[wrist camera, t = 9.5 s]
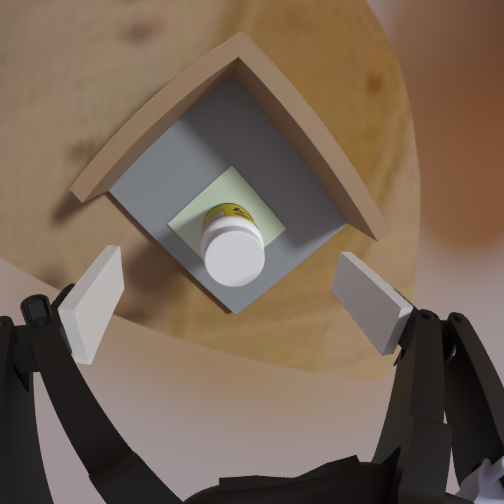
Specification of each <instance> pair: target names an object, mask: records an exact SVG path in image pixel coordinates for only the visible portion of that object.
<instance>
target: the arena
mask: <svg viewBox="0 0 504 504" xmlns="http://www.w3.org/2000/svg"><path fill="white" fill-rule="evenodd" d="M70 190H71V191H72V192H73V193H74V194H75V196H76V197H77V198H78V199H79V200H80V201H81V202H82V203H83V202H86V201H88V200H90V199H92V198H94V197H96V196H98V195H100V194H102V193H105V192H107V191H110V193H111V194H112V195H113V196H114V197H115V198H116V199H117V200H118V201H119V202H120V203H121V204H122V205H123V206H124V207H125V209H126V210H127V211H128V212H129V213H130V214H131V215H132V216H133V217H134V218H135V219H136V220H137V221H138V222H139V223H140V224H141V225H142V226H143V227H144V228H145V229H146V230H147V231H148V232H149V233H150V234H151V235H152V236H153V237H154V238H155V239H156V240H157V241H158V242H159V243H160V244H161V245H162V246H163V247H164V248H165V249H166V250H167V251H168V252H169V253H170V254H171V255H172V256H173V257H174V258H175V259H176V260H177V261H178V262H179V263H180V264H181V265H182V266H183V267H184V268H185V269H186V270H187V271H189V272H190V273H191V274H192V275H193V276H194V277H195V278H196V279H197V280H198V281H199V282H200V283H201V284H202V285H203V286H205V287H206V288H207V289H208V290H209V291H210V292H211V293H212V294H213V295H214V296H215V297H216V298H218V299H219V300H220V301H221V302H222V303H223V304H224V305H225V306H226V307H228V308H229V309H230V310H231V311H232V312H233V313H234V314H235V315H236V314H238V313H239V312H240V311H242V310H243V309H244V308H245V307H247V306H248V305H249V304H250V303H252V302H253V301H254V300H256V299H257V298H258V297H259V296H261V295H262V294H263V293H264V292H266V291H267V290H268V289H269V288H271V287H272V286H273V285H274V284H276V283H277V282H278V281H279V280H280V279H282V278H283V277H284V276H285V275H287V274H288V273H289V272H290V271H292V270H293V269H294V268H295V267H296V266H298V265H299V264H300V263H301V262H302V261H304V260H305V259H306V258H307V257H308V256H310V255H311V254H312V253H313V252H314V251H316V250H317V249H318V248H319V247H320V246H322V245H323V244H324V243H325V242H326V241H327V240H329V239H330V238H331V237H332V236H333V235H334V234H336V233H337V232H338V231H339V230H340V229H341V228H343V227H344V226H345V225H346V224H347V223H348V224H350V225H352V226H353V227H355V228H357V229H358V230H360V231H361V232H363V233H365V234H366V235H368V236H369V237H371V238H373V239H374V240H376V241H377V242H378V241H379V240H380V239H381V238H382V237H383V236H385V235H386V234H387V233H388V232H389V231H390V229H389V227H388V225H387V223H386V221H385V219H384V217H383V216H382V214H381V212H380V210H379V208H378V207H377V205H376V203H375V202H374V200H373V198H372V196H371V195H370V193H369V191H368V190H367V188H366V186H365V185H364V183H363V181H362V180H361V178H360V177H359V175H358V173H357V172H356V170H355V169H354V167H353V166H352V164H351V163H350V161H349V160H348V158H347V157H346V155H345V154H344V152H343V151H342V149H341V148H340V146H339V145H338V143H337V142H336V141H335V139H334V138H333V136H332V135H331V134H330V132H329V131H328V129H327V128H326V127H325V125H324V124H323V123H322V121H321V120H320V119H319V117H318V116H317V115H316V113H315V112H314V111H313V110H312V108H311V107H310V106H309V105H308V103H307V102H306V101H305V100H304V98H303V97H302V96H301V95H300V93H299V92H298V91H297V90H296V89H295V87H294V86H293V85H292V84H291V83H290V82H289V80H288V79H287V78H286V77H285V76H284V75H283V74H282V72H281V71H280V70H279V69H278V68H277V67H276V66H275V65H274V64H273V62H272V61H271V60H270V59H269V58H268V57H267V56H266V55H265V54H264V53H263V52H262V51H261V50H260V49H259V48H258V47H257V46H256V45H255V44H254V43H253V42H252V41H251V40H250V39H249V38H248V37H247V36H246V35H245V34H244V33H243V32H242V31H241V32H239V33H237V34H236V35H234V36H233V37H231V38H229V39H228V40H226V41H225V42H223V43H222V44H220V45H219V46H217V47H216V48H214V49H213V50H211V51H210V52H209V53H207V54H206V55H204V56H203V57H202V58H200V59H199V60H198V61H196V62H195V63H194V64H192V65H191V66H190V67H188V68H187V69H186V70H184V71H183V72H182V73H181V74H179V75H178V76H177V77H176V78H174V79H173V80H172V81H171V82H170V83H168V84H167V85H166V86H165V87H164V88H163V89H161V90H160V91H159V92H158V93H157V94H156V95H155V96H153V97H152V98H151V99H150V100H149V101H148V102H147V103H146V104H145V105H144V106H143V107H141V108H140V109H139V110H138V111H137V112H136V113H135V114H134V115H133V116H132V117H131V118H130V119H129V120H128V121H127V122H126V123H125V124H124V125H123V126H122V127H121V128H120V129H119V130H118V131H117V133H116V134H115V135H114V136H113V137H112V138H111V139H110V140H109V141H108V142H107V143H106V145H105V146H104V147H103V148H102V149H101V150H100V151H99V153H98V154H97V155H96V156H95V157H94V158H93V160H92V161H91V162H90V163H89V164H88V166H87V167H86V168H85V169H84V171H83V172H82V173H81V174H80V176H79V177H78V178H77V180H76V181H75V182H74V183H73V185H72V186H71V187H70ZM227 202H229V203H235V204H238V205H240V206H242V207H243V208H245V209H246V210H247V211H248V212H249V214H250V215H251V217H252V219H253V220H254V222H255V224H256V225H257V227H258V229H259V231H260V232H261V235H262V237H263V241H264V255H265V261H264V266H263V268H262V270H261V272H260V274H259V275H258V276H257V277H256V278H255V279H254V280H253V281H251V282H250V283H248V284H246V285H243V286H238V287H229V286H225V285H222V284H220V283H218V282H216V281H215V280H214V279H213V278H212V277H211V276H210V275H209V274H208V272H207V270H206V267H205V263H204V261H203V259H202V257H201V253H200V240H201V232H202V225H203V220H204V218H205V216H206V214H207V213H208V211H209V210H210V209H211V208H213V207H214V206H216V205H218V204H221V203H227Z"/></svg>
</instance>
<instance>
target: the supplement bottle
mask: <svg viewBox="0 0 504 504" xmlns="http://www.w3.org/2000/svg"><path fill="white" fill-rule="evenodd" d="M200 253H201V257H202V259H203V261H204V263H205V267H206V270H207V272H208V274H209V275H210V276H211V277H212V278H213V279H214V280H215V281H216V282H218V283H220V284H222V285H225V286H229V287H238V286H243V285H246V284H248V283H250V282H251V281H253V280H254V279H255V278H256V277H257V276H258V275H259V274H260V272H261V270H262V268H263V266H264V261H265V255H264V241H263V237H262V235H261V232H260V231H259V229H258V227H257V225H256V224H255V222H254V220H253V219H252V217H251V215H250V214H249V212H248V211H247V210H246V209H245V208H243V207H242V206H240V205H238V204H235V203H229V202H227V203H221V204H218V205H216V206H214V207H213V208H211V209H210V210H209V211H208V213H207V214H206V216H205V218H204V220H203V225H202V232H201V240H200Z"/></svg>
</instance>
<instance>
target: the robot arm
mask: <svg viewBox="0 0 504 504" xmlns="http://www.w3.org/2000/svg"><path fill="white" fill-rule="evenodd" d="M123 290H124V281H123V273H122V264H121V253H120V246H114V245H108V246H107V247H106V248H105V249H104V250H103V252H102V253H101V254H100V255H99V256H98V257H97V259H96V260H95V261H94V262H93V263H92V265H91V266H90V267H89V268H88V270H87V271H86V272H85V273H84V275H83V276H82V277H81V278H80V280H79V281H78V282H77V283H76V284H72V283H71V284H70V285H68V286H67V287H65V288H64V289H63V290H62V291H61V293H60V294H59V295H58V297H57V298H56V300H54V301H53V303H52V304H51V305H50V302H49V299H48V297H47V296H45V295H42V294H37V295H32V296H30V297H27V298H26V299H25V300H23V301H22V303H21V307H20V308H21V311H22V314H23V317H24V320H25V323H26V325H20V326H14V324H13V321H12V319H11V318H10V317H8V316H1V317H0V504H54V503H53V500H52V496H51V493H50V490H49V486H48V482H47V478H46V474H45V471H44V466H43V461H42V456H41V452H40V445H39V439H38V433H37V424H36V416H35V404H34V387H33V372H40V373H41V376H42V379H43V382H44V384H45V387H46V390H47V392H48V395H49V397H50V400H51V402H52V404H53V407H54V409H55V411H56V414H57V416H58V418H59V420H60V422H61V424H62V426H63V428H64V430H65V432H66V434H67V436H68V438H69V440H70V442H71V444H72V446H73V447H74V449H75V451H76V453H77V455H78V456H79V458H80V459H81V461H82V463H83V465H84V466H85V468H86V470H87V471H88V473H89V478H90V480H91V482H92V484H93V485H94V487H95V488H96V490H97V491H98V493H99V494H100V495H101V496H102V498H103V499H104V501H105V502H106V503H107V504H504V387H503V385H502V383H501V380H500V378H499V376H498V374H497V372H496V370H495V368H494V366H493V364H492V362H491V360H490V358H489V356H488V354H487V352H486V350H485V348H484V346H483V345H482V343H481V341H480V339H479V337H478V336H477V334H476V332H475V330H474V329H473V327H472V325H471V324H470V322H469V320H468V319H467V318H466V317H464V315H463V314H461V313H456V312H452V313H450V314H449V317H448V319H447V320H440V319H439V317H438V316H437V315H436V314H435V313H433V312H432V311H429V310H425V309H421V310H418V309H417V308H416V307H415V306H414V305H412V304H411V303H410V302H409V301H408V300H406V298H405V297H404V296H402V295H401V294H400V293H399V292H398V291H397V290H395V289H394V288H392V287H391V286H390V285H388V284H387V283H386V282H385V281H384V280H383V279H382V278H381V277H379V276H378V275H377V274H376V273H375V272H374V271H372V270H371V269H370V268H369V267H368V266H367V265H365V264H364V263H363V262H362V261H361V260H359V259H358V258H357V257H356V256H355V255H353V254H352V253H351V252H340V255H339V260H338V264H337V269H336V273H335V277H334V282H333V286H332V290H331V291H332V292H333V293H334V294H335V296H336V297H337V298H338V300H339V301H340V302H341V303H342V305H343V306H344V307H345V308H346V310H347V311H348V312H349V314H350V315H351V316H352V317H353V319H354V320H355V321H356V323H357V324H358V325H359V326H360V328H361V329H362V330H363V332H364V333H365V334H366V336H367V337H368V338H369V340H370V341H371V342H372V344H373V345H374V346H375V347H376V349H377V350H378V351H379V353H380V354H381V356H384V355H388V354H393V353H394V351H395V349H396V347H397V345H398V344H399V345H400V346H401V348H402V349H401V351H400V353H399V355H398V357H397V359H396V361H395V363H394V365H393V366H395V365H396V364H397V368H396V374H395V379H394V384H393V389H392V393H391V398H390V402H389V406H388V410H387V414H386V418H385V422H384V425H383V429H382V432H381V436H380V439H379V442H378V445H377V448H376V452H375V455H374V457H373V459H372V461H371V462H359V460H358V458H357V455H354V456H351V457H347V458H344V459H340V460H336V461H333V462H329V463H326V464H324V465H322V466H320V467H318V468H316V469H314V470H311V471H309V472H307V473H305V474H303V475H300V476H298V477H294V478H285V477H268V476H258V475H255V476H243V477H227V478H219V485H217V486H213V487H210V488H207V489H204V490H202V491H200V492H198V493H195V494H194V495H192V496H191V497H189V498H188V499H186V500H185V501H184V502H182V501H181V500H180V499H179V498H178V497H177V496H176V495H175V494H174V493H173V492H172V491H171V490H170V489H169V488H168V487H167V486H166V485H165V484H164V483H163V482H162V481H161V480H160V479H159V478H158V477H157V476H156V474H155V473H154V472H153V471H152V470H151V469H150V468H149V467H148V466H147V465H146V464H145V462H144V461H143V460H142V459H141V458H140V457H139V456H138V455H137V454H136V453H135V452H133V451H132V450H131V448H130V447H129V446H128V445H127V443H126V442H125V441H124V439H123V438H122V437H121V435H120V434H119V433H118V431H117V430H116V429H115V427H114V426H113V424H112V423H111V421H110V420H109V419H108V417H107V416H106V414H105V413H104V411H103V410H102V408H101V407H100V405H99V403H98V402H97V400H96V399H95V397H94V395H93V394H92V392H91V390H90V389H89V387H88V386H87V384H86V382H85V380H84V378H83V377H82V375H81V373H80V371H79V369H78V367H77V365H76V364H75V362H77V363H82V364H88V365H91V364H92V361H93V358H94V356H95V353H96V351H97V348H98V346H99V344H100V341H101V339H102V337H103V334H104V332H105V330H106V327H107V325H108V323H109V320H110V318H111V316H112V314H113V312H114V309H115V307H116V305H117V303H118V301H119V299H120V297H121V295H122V293H123ZM455 351H456V353H455V355H453V354H454V352H455ZM71 353H72V354H73V357H74V359H75V362H74V360H73V358H72V356H71ZM444 410H445V415H446V420H447V424H445V423H444V422H443V421H444ZM451 447H452V454H453V461H454V468H455V474H456V477H457V481H458V484H459V487H460V491H458V492H457V493H456V494H455V495H452V494H449V493H447V492H445V490H446V485H447V478H448V472H449V463H450V454H451Z"/></svg>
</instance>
